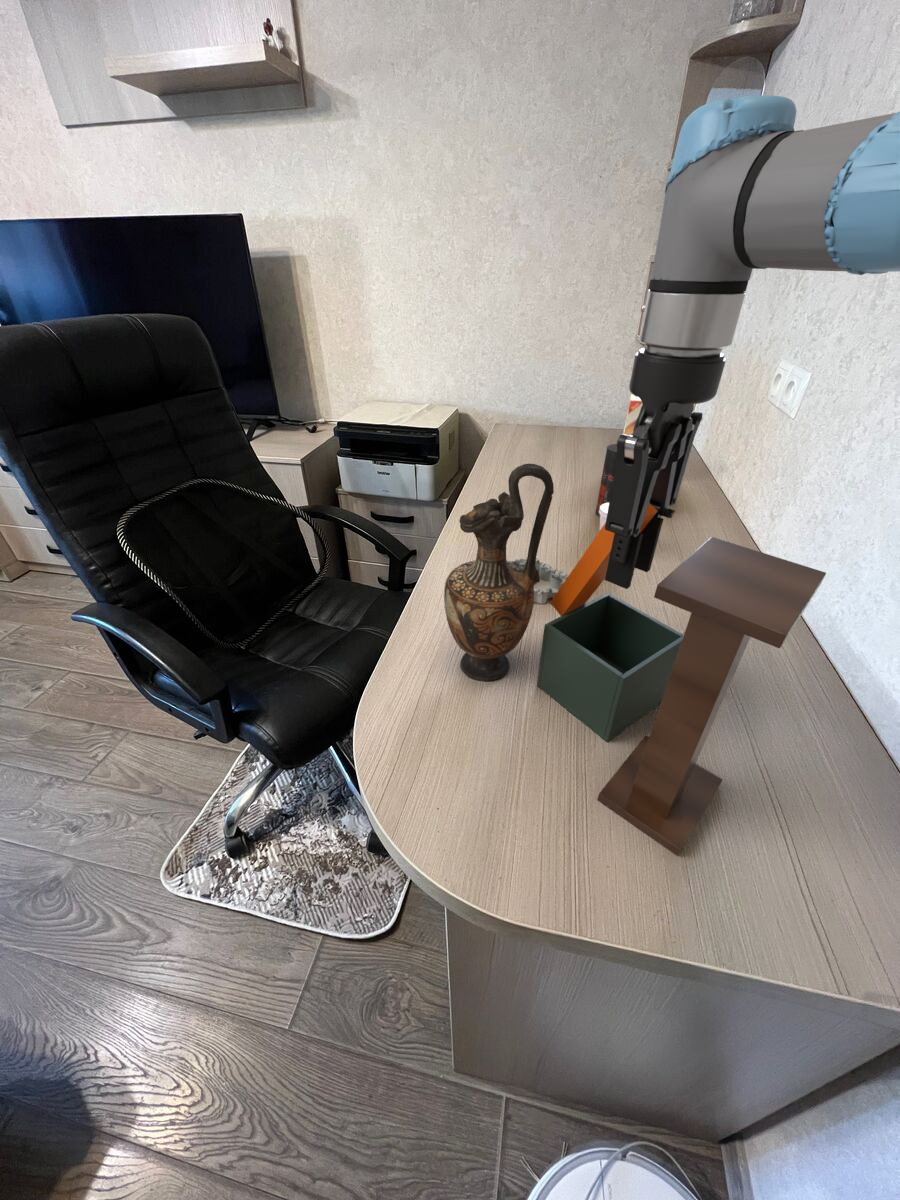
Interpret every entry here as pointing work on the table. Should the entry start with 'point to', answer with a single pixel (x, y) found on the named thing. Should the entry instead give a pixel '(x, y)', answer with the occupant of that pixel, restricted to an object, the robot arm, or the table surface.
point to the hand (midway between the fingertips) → (627, 574)
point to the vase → (495, 581)
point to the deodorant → (607, 476)
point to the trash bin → (607, 663)
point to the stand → (704, 679)
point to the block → (590, 570)
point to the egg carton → (544, 580)
